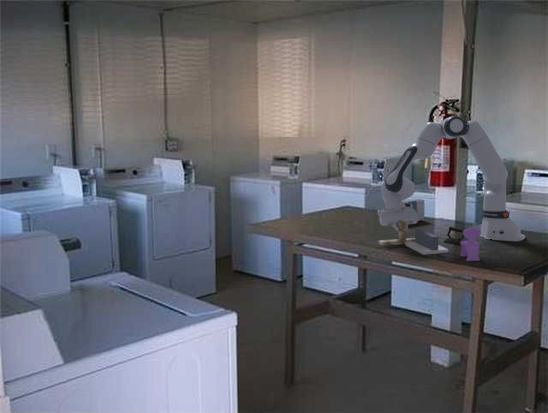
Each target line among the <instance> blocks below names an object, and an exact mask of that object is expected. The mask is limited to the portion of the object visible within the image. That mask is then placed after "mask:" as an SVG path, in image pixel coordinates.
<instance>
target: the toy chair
mask: <svg viewBox="0 0 548 413" xmlns="http://www.w3.org/2000/svg"><path fill="white" fill-rule="evenodd" d="M463 230H464V229H463ZM480 234H481V228H478V227H476V226H475V227H472V226H471V227H467V228H466V229H465V230H464V231H463V233H462V236H463V235H464V238H466V239H467V240H464V241H461V245H460V247H461V254H460V257H461V256H462V257H466V260H465V262H470V261H471V262H473V261H474V262H475V261H476V262H477V261H481V259H480V257H479V250H480V243H479V242H477V238H479V237H480V236H479V235H480Z"/></svg>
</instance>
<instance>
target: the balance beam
mask: <svg viewBox="0 0 548 413" xmlns="http://www.w3.org/2000/svg"><path fill="white" fill-rule="evenodd" d="M397 227H400V232H397V239H395V238H394V239H384V240H383V239H382V240H378V242H377V243H378V245H380V246H382V247H383V246H396V245H397V246H398V245H405V242H415V237H409V238H408V237H407V231H406V221H405V220H398V225H397Z"/></svg>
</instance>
